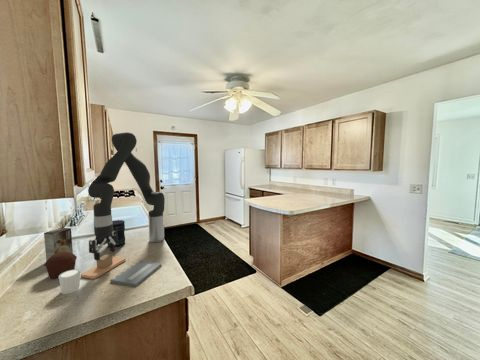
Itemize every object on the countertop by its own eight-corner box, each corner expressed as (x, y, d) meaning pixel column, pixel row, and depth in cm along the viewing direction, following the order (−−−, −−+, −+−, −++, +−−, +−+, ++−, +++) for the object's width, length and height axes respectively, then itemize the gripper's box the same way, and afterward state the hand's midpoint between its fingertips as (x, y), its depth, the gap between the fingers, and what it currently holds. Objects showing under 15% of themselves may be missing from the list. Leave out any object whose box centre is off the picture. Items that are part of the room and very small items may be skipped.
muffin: (40, 277, 90) (38, 255, 90) (68, 265, 101) (67, 246, 100) (53, 283, 86) (52, 261, 85) (82, 271, 96) (81, 251, 95)
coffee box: (64, 254, 113) (62, 227, 111) (73, 255, 111) (71, 228, 110) (45, 262, 104) (43, 232, 102) (55, 263, 102) (53, 233, 101)
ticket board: (139, 262, 104) (139, 260, 104) (161, 265, 102) (161, 263, 101) (110, 282, 87) (110, 279, 87) (135, 286, 84) (135, 283, 84)
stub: (113, 258, 108) (113, 248, 108) (125, 260, 106) (125, 250, 106) (80, 276, 91) (80, 265, 90) (94, 279, 89) (93, 267, 88)
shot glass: (64, 286, 84) (63, 270, 83) (83, 283, 86) (83, 267, 86) (55, 296, 77) (54, 279, 77) (77, 292, 80) (76, 276, 79)
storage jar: (119, 248, 122) (118, 224, 121) (103, 248, 122) (102, 224, 121) (128, 242, 132) (127, 220, 131) (114, 242, 132) (113, 220, 131)
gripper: (109, 219, 105) (111, 248, 106) (82, 228, 91) (85, 261, 92) (121, 220, 103) (123, 250, 104) (96, 229, 89) (98, 263, 91)
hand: (105, 255), depth 98 cm, fingers open, 8 cm apart
